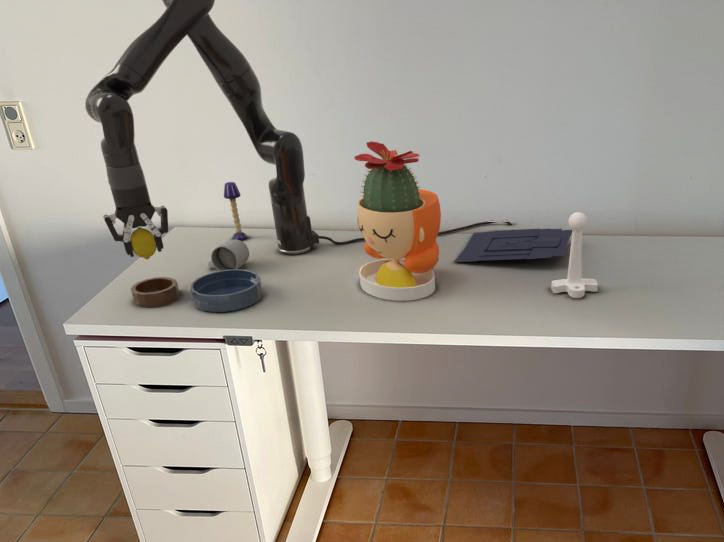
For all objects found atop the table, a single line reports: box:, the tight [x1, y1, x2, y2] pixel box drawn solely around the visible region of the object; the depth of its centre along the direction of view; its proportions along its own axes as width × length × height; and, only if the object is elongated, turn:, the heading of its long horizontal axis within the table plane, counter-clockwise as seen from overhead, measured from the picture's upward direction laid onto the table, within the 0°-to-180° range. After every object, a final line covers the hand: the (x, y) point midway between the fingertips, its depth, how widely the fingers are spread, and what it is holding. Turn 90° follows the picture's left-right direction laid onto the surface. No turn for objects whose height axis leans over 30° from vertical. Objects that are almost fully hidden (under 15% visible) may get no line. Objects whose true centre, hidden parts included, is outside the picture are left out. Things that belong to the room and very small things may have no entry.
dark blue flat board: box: [453, 228, 572, 263], centre depth 200 cm, size 24×30×4 cm
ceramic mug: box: [207, 238, 250, 271], centre depth 191 cm, size 11×8×8 cm
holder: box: [130, 276, 181, 308], centre depth 175 cm, size 10×10×4 cm
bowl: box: [189, 268, 264, 313], centre depth 174 cm, size 16×16×4 cm
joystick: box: [550, 211, 599, 299], centre depth 171 cm, size 11×8×20 cm
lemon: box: [129, 226, 157, 260], centre depth 169 cm, size 6×6×8 cm
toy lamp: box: [223, 181, 248, 241], centre depth 209 cm, size 5×5×17 cm
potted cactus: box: [354, 140, 442, 302], centre depth 175 cm, size 22×22×35 cm
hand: (145, 253), depth 170 cm, fingers closed on lemon, 5 cm apart
